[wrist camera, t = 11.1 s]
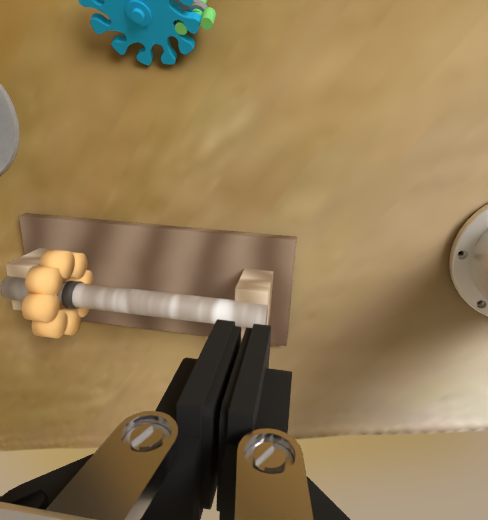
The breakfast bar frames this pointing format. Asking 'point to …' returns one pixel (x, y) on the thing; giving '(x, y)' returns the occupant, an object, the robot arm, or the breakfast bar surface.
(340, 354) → the breakfast bar surface
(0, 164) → the mate gourd
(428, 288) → the breakfast bar surface
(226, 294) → the pipe stand
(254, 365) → the robot arm
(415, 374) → the breakfast bar surface
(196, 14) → the gear
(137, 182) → the breakfast bar surface
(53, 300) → the tan lobed rosette
